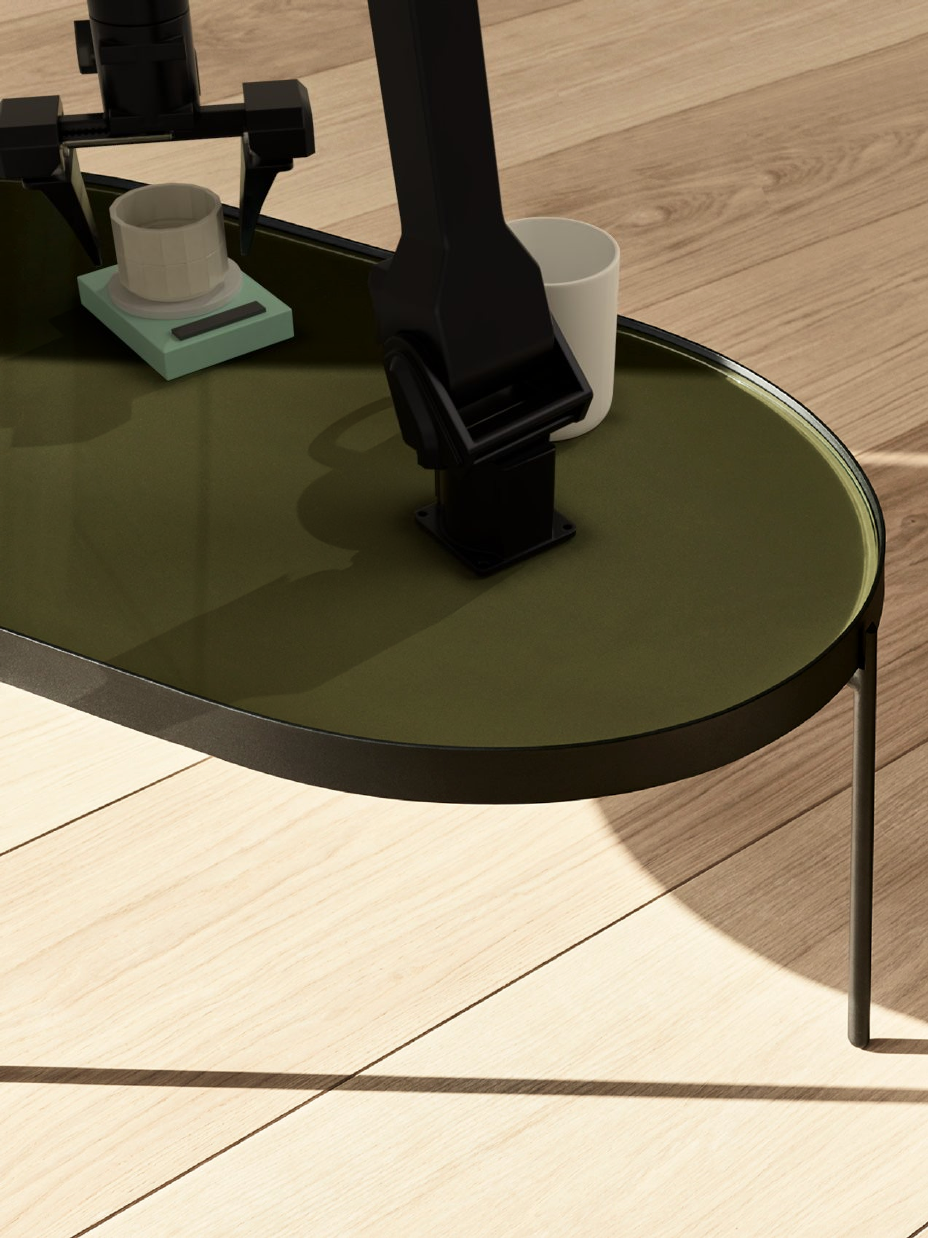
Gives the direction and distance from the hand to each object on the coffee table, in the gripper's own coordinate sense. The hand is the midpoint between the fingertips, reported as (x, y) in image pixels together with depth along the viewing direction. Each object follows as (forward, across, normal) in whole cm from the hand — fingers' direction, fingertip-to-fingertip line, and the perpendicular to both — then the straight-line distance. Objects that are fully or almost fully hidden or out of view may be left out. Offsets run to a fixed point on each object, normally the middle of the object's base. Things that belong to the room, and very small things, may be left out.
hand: (172, 257), depth 106 cm
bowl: (+2, 0, 0) cm, 2 cm away
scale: (+4, 0, +1) cm, 4 cm away
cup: (+4, -20, +13) cm, 24 cm away
